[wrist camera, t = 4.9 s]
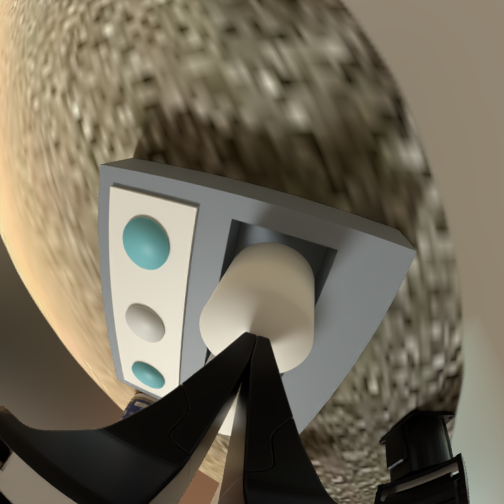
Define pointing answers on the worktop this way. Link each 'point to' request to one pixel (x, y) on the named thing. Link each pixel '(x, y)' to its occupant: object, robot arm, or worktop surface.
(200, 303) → the button board
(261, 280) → the button
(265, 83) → the worktop surface
